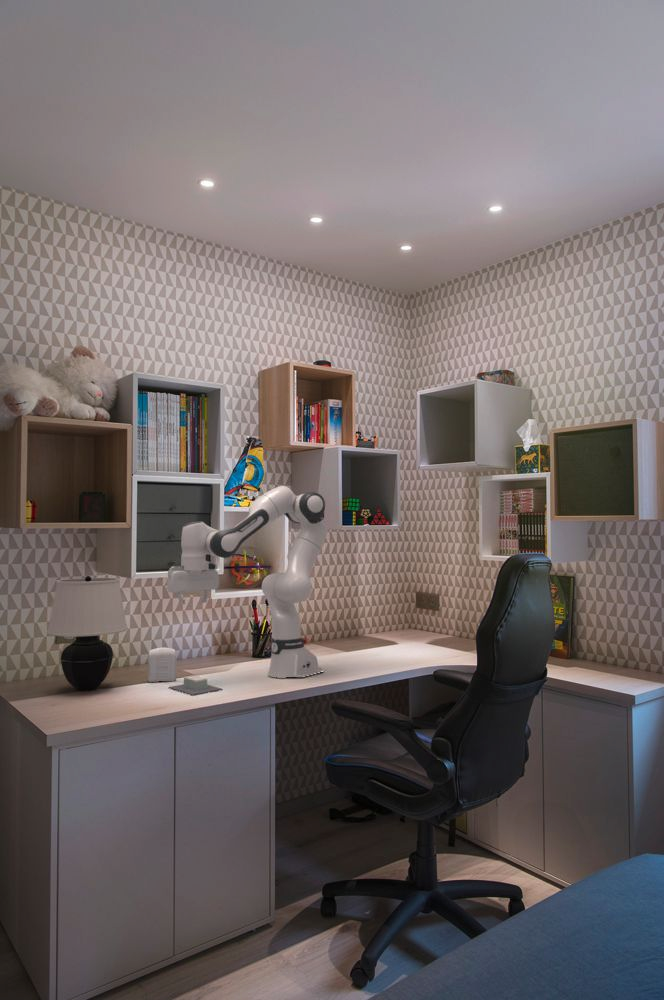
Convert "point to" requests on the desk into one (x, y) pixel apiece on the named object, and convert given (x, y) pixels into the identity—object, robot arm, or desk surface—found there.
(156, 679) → the white upright rounded block
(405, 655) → the desk surface
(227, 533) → the robot arm
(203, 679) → the card box
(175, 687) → the desk mat
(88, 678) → the table lamp
